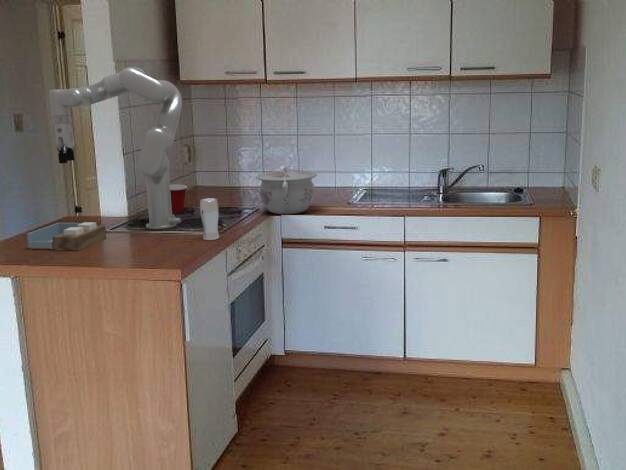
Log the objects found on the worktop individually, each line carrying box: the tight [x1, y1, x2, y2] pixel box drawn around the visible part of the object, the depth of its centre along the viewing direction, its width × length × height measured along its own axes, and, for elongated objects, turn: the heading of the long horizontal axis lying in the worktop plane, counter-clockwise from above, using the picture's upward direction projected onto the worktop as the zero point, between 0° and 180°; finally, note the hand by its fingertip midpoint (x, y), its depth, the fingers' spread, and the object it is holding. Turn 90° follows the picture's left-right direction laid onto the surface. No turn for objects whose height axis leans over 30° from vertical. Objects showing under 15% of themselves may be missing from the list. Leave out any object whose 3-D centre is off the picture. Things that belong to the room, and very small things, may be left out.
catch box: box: [26, 222, 81, 249], centre depth 265 cm, size 10×20×6 cm, turn 166°
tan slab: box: [52, 225, 108, 251], centre depth 263 cm, size 10×20×5 cm, turn 166°
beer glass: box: [199, 197, 220, 241], centre depth 264 cm, size 7×7×15 cm
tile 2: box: [64, 227, 84, 236], centre depth 258 cm, size 5×5×2 cm
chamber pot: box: [255, 166, 318, 216], centre depth 311 cm, size 28×28×21 cm
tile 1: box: [77, 221, 98, 230], centre depth 266 cm, size 5×5×2 cm
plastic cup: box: [170, 184, 188, 213], centre depth 323 cm, size 11×11×12 cm
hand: (67, 161), depth 288 cm, fingers open, 9 cm apart
